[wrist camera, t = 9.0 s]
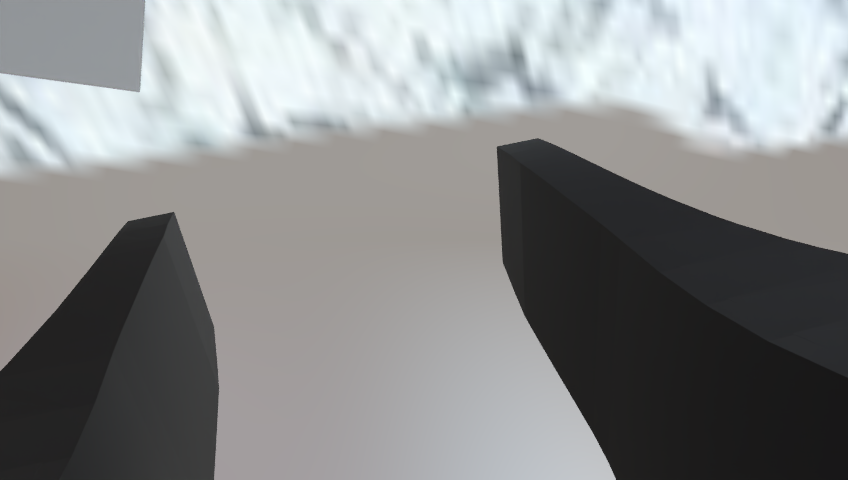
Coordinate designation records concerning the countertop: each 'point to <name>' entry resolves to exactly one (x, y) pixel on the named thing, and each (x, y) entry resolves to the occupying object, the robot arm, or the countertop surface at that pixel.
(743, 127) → the countertop surface
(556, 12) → the countertop surface
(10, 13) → the slate mat
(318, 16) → the countertop surface
